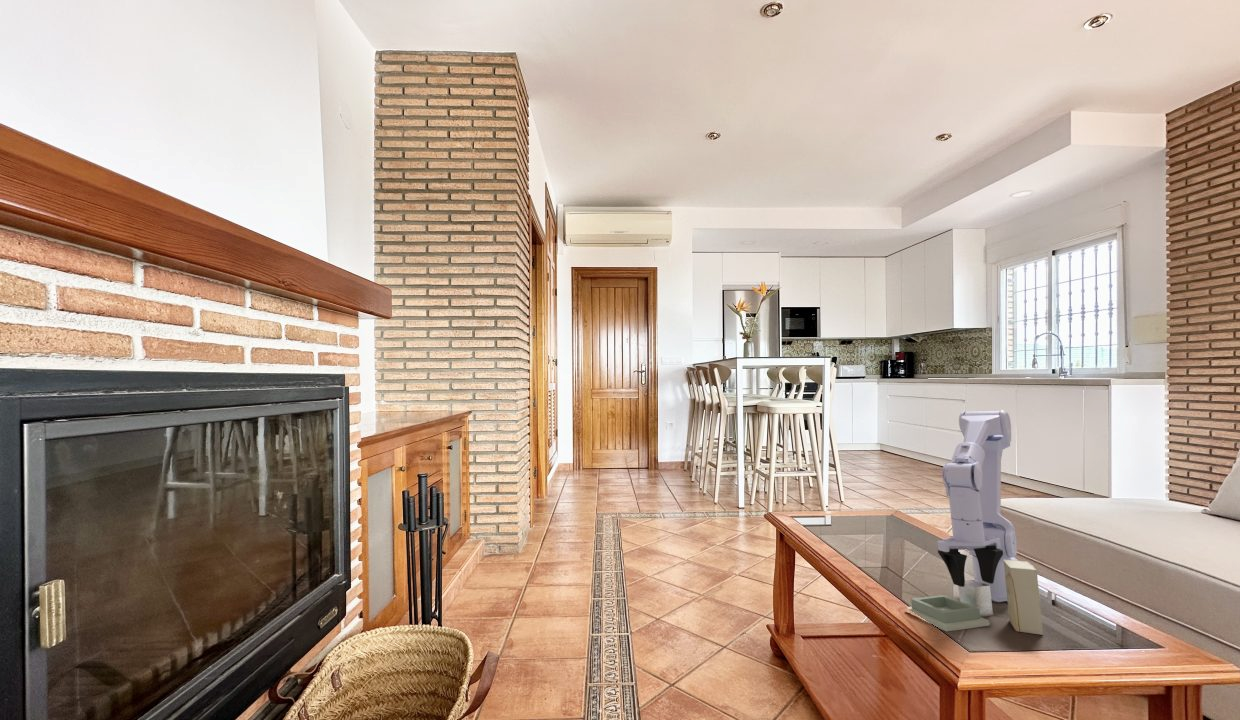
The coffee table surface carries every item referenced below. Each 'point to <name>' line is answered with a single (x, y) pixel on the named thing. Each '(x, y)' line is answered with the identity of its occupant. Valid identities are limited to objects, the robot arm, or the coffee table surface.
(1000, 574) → the robot arm
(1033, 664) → the coffee table surface
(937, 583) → the coffee table surface
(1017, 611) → the skincare box
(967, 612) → the tray
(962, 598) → the aluminium block
